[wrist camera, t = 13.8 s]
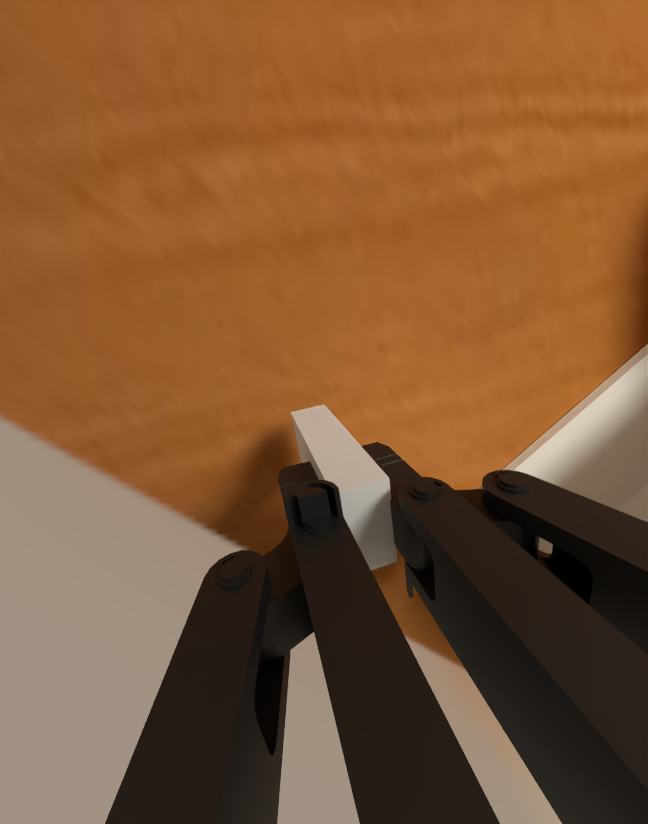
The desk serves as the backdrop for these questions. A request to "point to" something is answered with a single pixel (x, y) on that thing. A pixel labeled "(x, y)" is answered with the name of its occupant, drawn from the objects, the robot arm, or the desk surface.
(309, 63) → the desk surface
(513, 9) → the desk surface
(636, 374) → the carton
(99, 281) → the desk surface
